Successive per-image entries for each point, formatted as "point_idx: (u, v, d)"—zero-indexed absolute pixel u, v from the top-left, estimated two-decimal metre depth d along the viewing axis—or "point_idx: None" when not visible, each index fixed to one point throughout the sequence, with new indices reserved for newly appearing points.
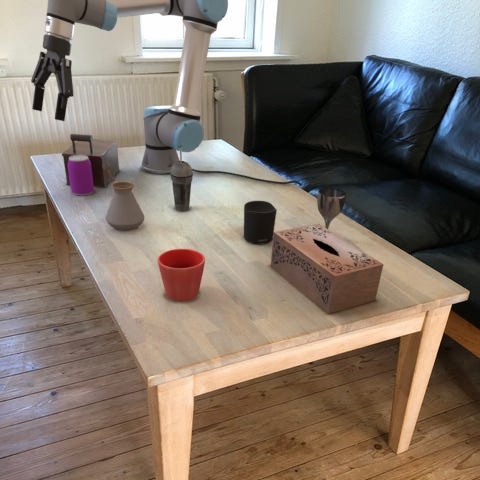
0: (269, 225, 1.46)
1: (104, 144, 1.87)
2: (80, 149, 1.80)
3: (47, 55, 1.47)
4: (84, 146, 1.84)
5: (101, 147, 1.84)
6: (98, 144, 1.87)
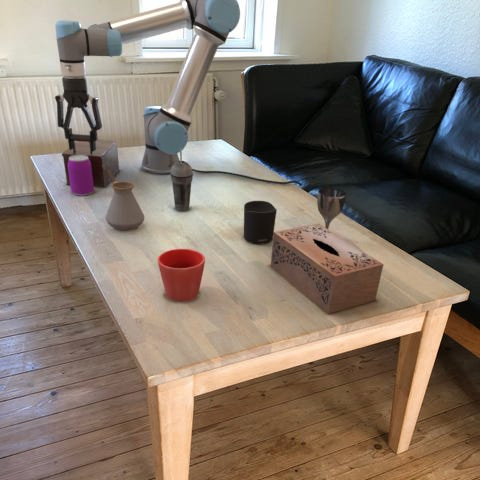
0: (269, 225, 1.46)
1: (104, 144, 1.87)
2: (80, 149, 1.80)
3: (67, 94, 1.66)
4: (84, 146, 1.84)
5: (101, 147, 1.84)
6: (98, 144, 1.87)
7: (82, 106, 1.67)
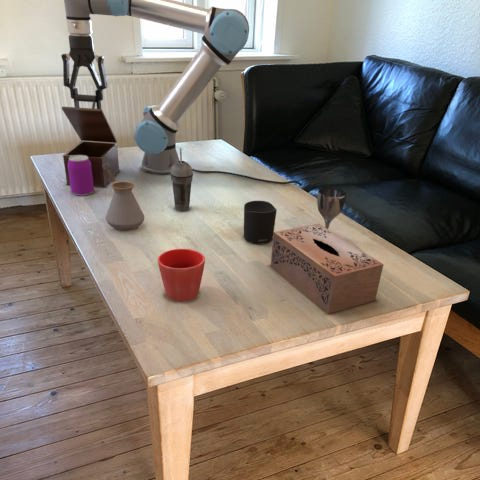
0: (269, 225, 1.46)
1: None
2: None
3: (73, 53, 1.68)
4: None
5: None
6: None
7: (88, 64, 1.69)
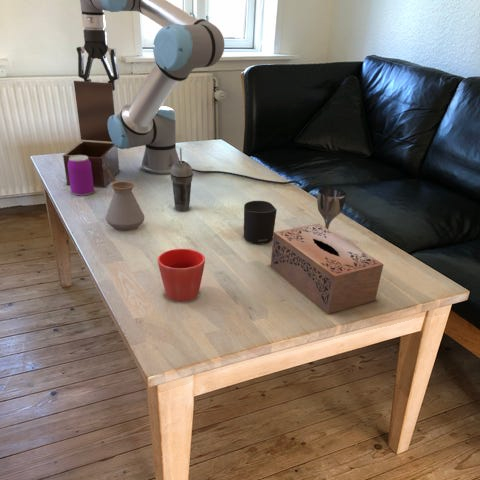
0: (269, 225, 1.46)
1: None
2: None
3: (87, 46, 1.80)
4: None
5: None
6: None
7: (101, 57, 1.81)
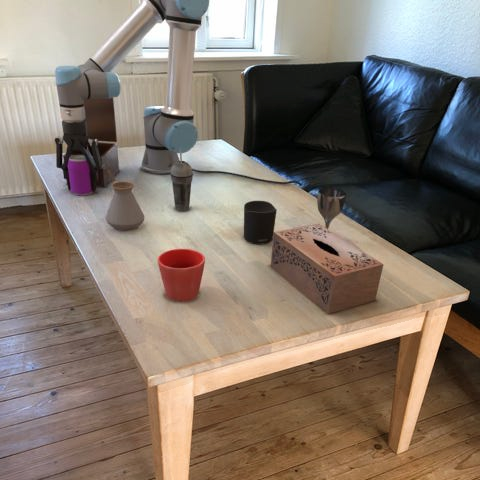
0: (269, 225, 1.46)
1: None
2: None
3: (66, 137, 1.66)
4: None
5: None
6: None
7: (82, 148, 1.67)
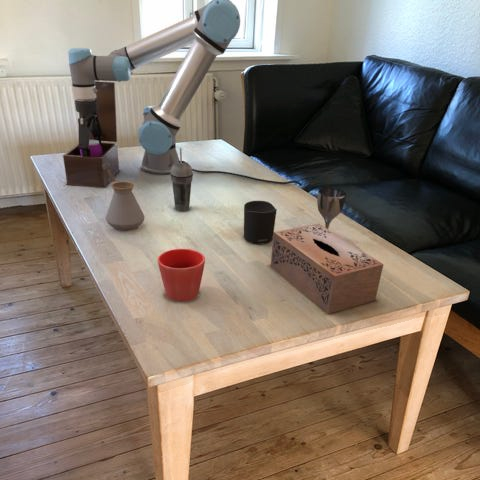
0: (269, 225, 1.46)
1: None
2: None
3: (88, 117, 1.76)
4: None
5: None
6: None
7: (95, 124, 1.82)
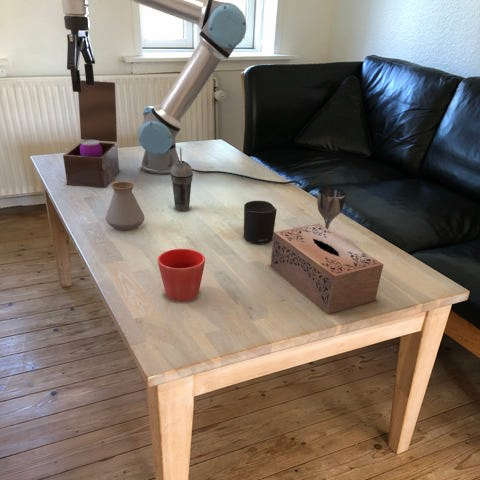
0: (269, 225, 1.46)
1: None
2: None
3: (78, 35, 1.62)
4: None
5: None
6: None
7: (86, 45, 1.68)
